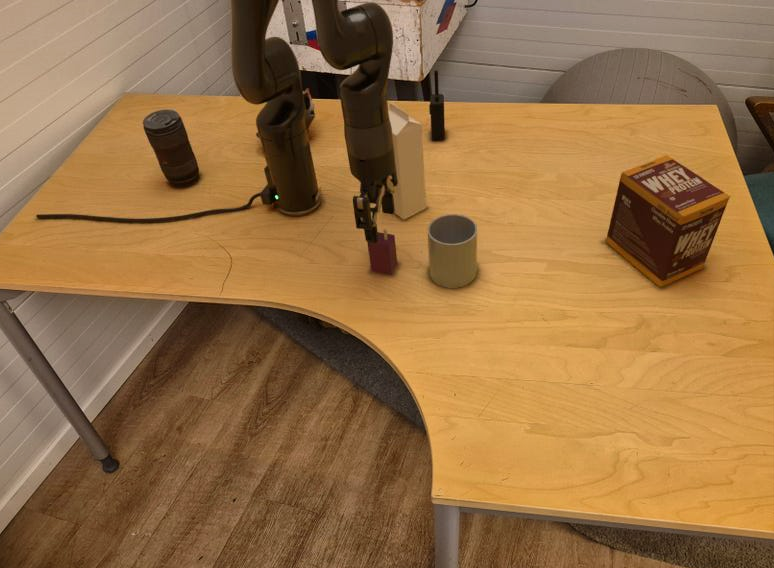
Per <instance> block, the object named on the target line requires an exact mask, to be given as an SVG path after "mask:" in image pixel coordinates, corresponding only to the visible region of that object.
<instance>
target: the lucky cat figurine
mask: <svg viewBox="0 0 774 568" xmlns="http://www.w3.org/2000/svg"><path fill="white" fill-rule="evenodd" d="M303 95H304V102H305V109H306V113H305V125H306V130H307V135H308V139H309V138H310V133H309V128H310V126H311V125H312V122H313V121H314V119H315V118H316V113H315V105H316V104H315V103H314V102H313V99H312V94H311V93H310V88H309V87H307V88H306V89H304V90H303ZM255 136H256V138H258V139H260V137H259V133H258V131H257V132H256V134H255Z"/></svg>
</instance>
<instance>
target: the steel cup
mask: <svg viewBox="0 0 774 568" xmlns="http://www.w3.org/2000/svg"><path fill="white" fill-rule="evenodd" d="M427 246H428V247H427V248H428V261H429V262H428V264H429V265H428V266H429V267H428V268H429V276H430V278H431V280H432V281H433V282H434V283H435V284H436V285H438V286H440V287H443V288H446V289H447V288H449V289H458V288H462V287H465V286H467V285H469V284H470V283H471V282H473V281H474V279H475V278H476V275H477V267H478V265H477V264H478V225H477V223H476V222H475V220H473V219H472V218H470V217H468V216H466V215H463V214H458V213H449V214H443V215H440V216H438V217H436V218H434V219H433V220H432V221H430V223H429V224H428V226H427Z"/></svg>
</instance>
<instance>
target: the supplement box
mask: <svg viewBox="0 0 774 568" xmlns="http://www.w3.org/2000/svg"><path fill="white" fill-rule="evenodd" d="M730 198H731V195H729V194H728V193H726V192H725V191H722V190H721V189H720V188H718V187H717V186H715V185H713V184H712V183H710V182H709V181H707V180H706V179H705V178H703V177H702V176H700V175H699V174H697V173H695V172H694V171H692V170H691V169H689V168H687V166H685V165H683V164H682V163H679V162H678V161H677V160H675V159H673V158H672V157H670V156H669V155H664V156H662V157H659V158H656V159H654V160H651V161H649V162H646V163H643V164H641V165H638V166H635V167H632V168H630V169H627V170H624V171H622V172H621V173H620V177H619V181H618V187H617V190H616V195H615V200H614V204H613V208H612V213H611V217H610V222H609V225H608V230H607V235H606V238H605V243H606V244H607V245H608V246H609V247H611V248H612V249H614V251H616V252H617V253H618V254H619V255H620V256H622V258H624V259H625V260H626V261H627V262H629V263H630V264H631V265H632V266H634V267H635V268H636V269H637V270H638V271H640V272H641V273H642V274H643V275H644V276H645V277H646V278H648V279H649V280H650V281H651V282H652V283H653V284H655V285H656V286H657V287H659V288H662V287H664V286H667V285H668V284H671V283H673V282H676V281H678V280H680V279H682V278H684V277H686V276H689V275H691V274H692V273H695V272H697V271H700V270H702V269H703V268H704V267H705V264H706V261H707V258H708V256H709V252H710V251H711V248H712V245H713V242H714V240H715V238H716V234H717V231H718V229H719V226H720V223H721V221H722V218H723V215H724V213H725V210H726V207H727V205H728V203H729V200H730Z"/></svg>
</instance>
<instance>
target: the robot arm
mask: <svg viewBox="0 0 774 568" xmlns="http://www.w3.org/2000/svg"><path fill="white" fill-rule="evenodd" d="M279 3H280V0H229V5H230V64H231V72H232V73H231V74H232V76H233V77H232V78H233V81H234V84H235V86H236V88H237V91H238V93H239V94H240V96H241V97H242V98H243V99H244V100H245V101H246V102H247V103H250V104H252V105H255V106H259V105H262V104H264V105H263V107H262V108H261V110H259V112H258V114H257V116H256V117H255V125H256V130H257V132H258V133H259V137H260V138H259V137H258V138H259V140H260V145H261V148H262V151H263V156H264V160H265V162H266V165H265V166H264V168H263V172H264V175H265V180H266V183H267V184H266V185H265V187H264V188H263V189H262V190H261V191H260V192H257V193H255V194H254V195H252V196H251V197H250V199H249V200H248V202H247V203H246V204H244V205H243V206H239V207H235V208H234V207H233V208H216V209H209V210H203V211H198V212H193V213H189V214H183V215H175V216H174V215H173V216H167V217H152V218H151V217H150V218H149V217H148V218H127V217H126V218H125V217H113V216H111V217H110V216H99V215H98V216H97V215H88V214H75V213H74V214H72V213H50V214H49V213H47V214H42V213H41V214H36V215H35V216H36V219H47V218H48V219H49V218H50V219H51V218H70V219H71V218H73V219H86V220H98V221H110V222H112V221H113V222H123V223H124V222H125V223H154V222H155V223H157V222H167V221H177V220H184V219H190V218H194V217H198V216H205V215H209V214H217V213H218V214H219V213H234V212H235V213H236V212H240V211H243V210H246V209H249V208H250V207H251V206H252V204H253V202H254V201H255V199H257V198H259V197H260V199H261V202H262V205H263V206H264V205H266V206H269V207H270V206H272V205H273V208H274V209H276V210H278V211H279V212H280V213H281V214H284V215H286V216H289V217H298V216H299V217H301V216H305V215H308V214H311V213H313V212H314V211H315V210H317V209H318V208H319V207H320V205H321V203H322V197H321V193H322V188H321V186H320V187H319V185H318V179H317V174H316V169H315V164H314V160H313V155H312V149H311V146H310V140H309V138H308V135H307V130H306V125H305V113H306V109H305V102H304V95H303V91H304V88H303V80H302V75H301V70H300V69H301V68H300V67H299V66H300V65H299V63H298V59H297V56H296V54H295V52H294V50H293V49H292V46H290V44H289V43H288V41H286V40H285V39H284V38H282V37H279V36H270V37H268V38H266V36H267V32H268V29H269V26H270V22H271V20H272V18H273V16H274V13H275V12H276V9H277V7H278V4H279ZM311 4H312V9H313V16H314V23H315V33H316V40H317V43H318V48H319V51H320V54H321V56H322V57H323V59H324V60H325V62H326V63H327V64H328V65H329V66H330V67H332V68H333V69H334V70H337V71H345V70H348V69H352V68H355V67H357V66H358V67H357V68H356V69H355V70H354V71H353V73H351V74H350V75H349V76H347V77H345V79H343V81H342V82H341V84H340V86H339V99H340V100H339V101H340V106H341V113H342V119H343V129H344V130H343V132H344V133H343V134H344V140H345V148H346V153H347V158H348V165H349V171H350V174H351V175H352V177H354V178H355V179H356V180H358V182H359V184H360V185H359V193H360V194H359V195H353V196H352V207H353V215H354V222H355V228H356V229H358V230H363V232H364V238H365V241H366V243H367V242H370V243H377V242H378V240H379V237H378V232H379V231H378V224H377V220H378V214H379V213H381V211H382V213H383V214H386V215H394V214H395V213H394V212H395V207H394V198H393V195H394V193H395V189H394V186H397V184H398V180H397V173H396V165H395V155H394V145H393V135H392V127H391V123H390V119H389V113H388V111H389V105H388V96H387V95H388V94H387V89H388V81H389V75H390V69H391V68H390V67H391V63H392V55H393V49H394V31H393V26H392V25H393V24H392V21H391V19H390V17H389V15H388V13H387V12H386V10H385V9H384V8H383V7H382V6H381V5H380V4H378V3H376V2H373V1H372V2H365V3H360V4H358V5H355V6H353V7H350V8H347V9H344V10H341V11H340V9H339V0H311ZM388 176H392V179H390V178H389V177H388ZM372 204H373V205H375V206H374V207H373V206H371V205H372Z"/></svg>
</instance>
